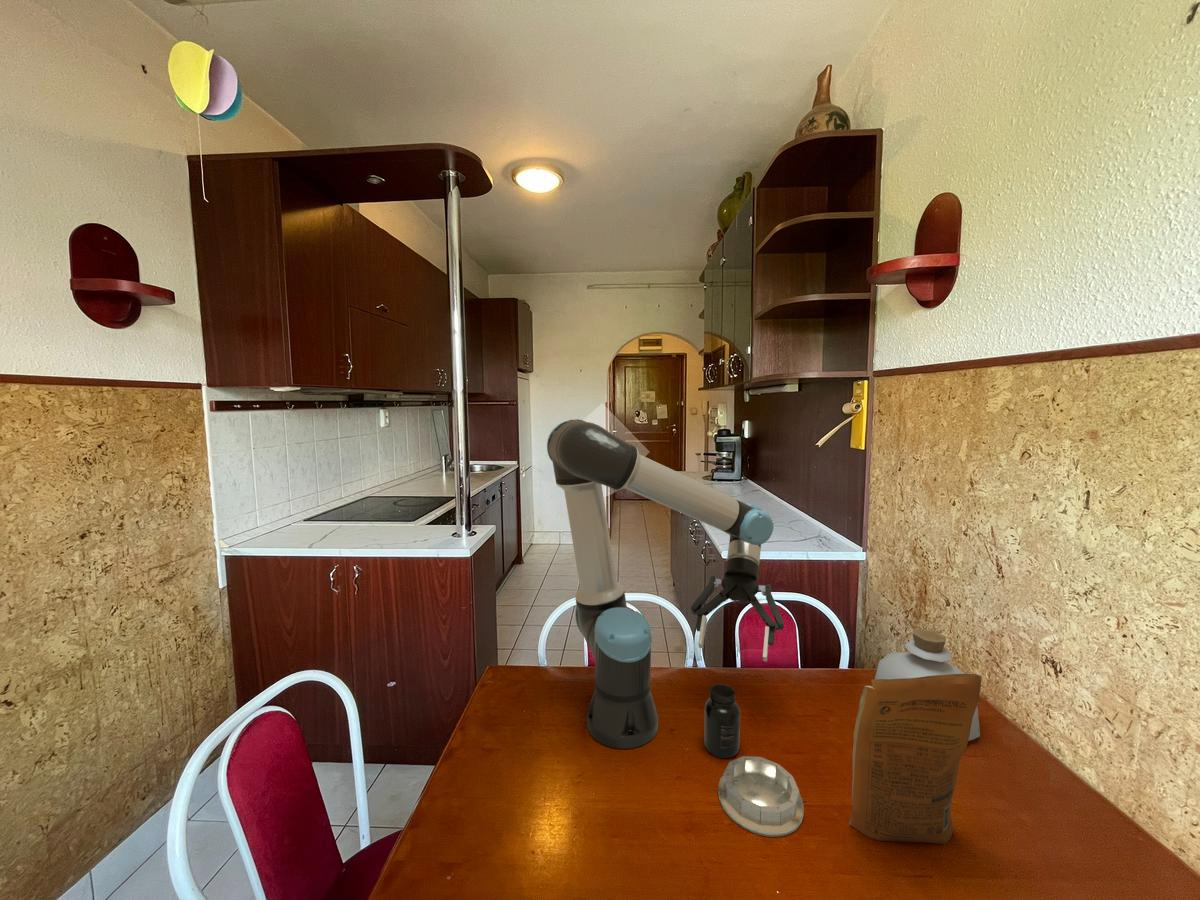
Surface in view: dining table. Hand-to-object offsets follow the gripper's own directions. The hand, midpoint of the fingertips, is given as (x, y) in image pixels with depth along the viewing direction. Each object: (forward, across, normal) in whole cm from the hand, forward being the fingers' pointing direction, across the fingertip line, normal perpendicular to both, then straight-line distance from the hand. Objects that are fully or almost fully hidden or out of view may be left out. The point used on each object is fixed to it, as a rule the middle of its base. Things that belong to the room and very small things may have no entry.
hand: (731, 652), depth 106 cm
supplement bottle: (+18, 0, -3) cm, 18 cm away
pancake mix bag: (+24, -30, +3) cm, 38 cm away
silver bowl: (+25, -8, +5) cm, 27 cm away
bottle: (-1, -39, -22) cm, 45 cm away
